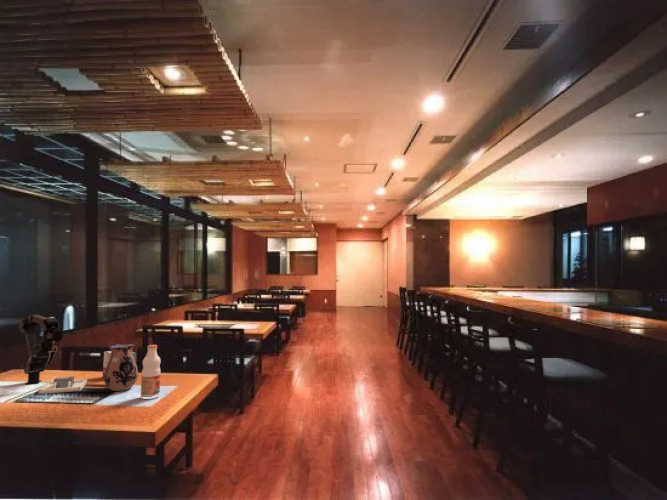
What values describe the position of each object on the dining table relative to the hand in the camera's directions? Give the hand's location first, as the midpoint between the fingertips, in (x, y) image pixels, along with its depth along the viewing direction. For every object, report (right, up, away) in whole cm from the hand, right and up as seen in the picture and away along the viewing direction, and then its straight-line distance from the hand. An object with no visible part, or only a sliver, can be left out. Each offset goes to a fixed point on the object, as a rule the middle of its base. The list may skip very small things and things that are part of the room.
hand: (46, 366), depth 236 cm
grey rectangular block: (+13, -11, -4) cm, 18 cm away
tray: (+13, -12, -4) cm, 18 cm away
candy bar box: (+27, -14, +21) cm, 37 cm away
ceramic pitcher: (+45, -13, -3) cm, 46 cm away
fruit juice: (+70, -12, -18) cm, 73 cm away
